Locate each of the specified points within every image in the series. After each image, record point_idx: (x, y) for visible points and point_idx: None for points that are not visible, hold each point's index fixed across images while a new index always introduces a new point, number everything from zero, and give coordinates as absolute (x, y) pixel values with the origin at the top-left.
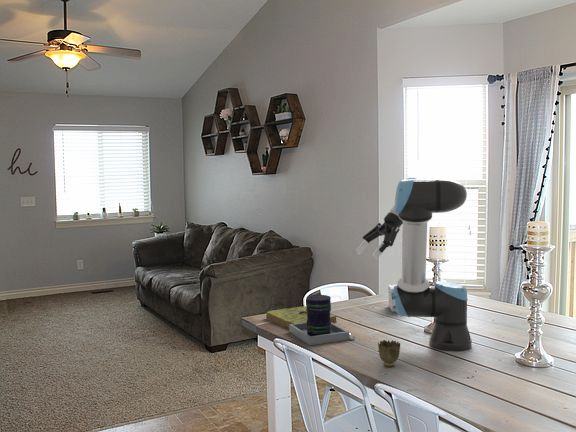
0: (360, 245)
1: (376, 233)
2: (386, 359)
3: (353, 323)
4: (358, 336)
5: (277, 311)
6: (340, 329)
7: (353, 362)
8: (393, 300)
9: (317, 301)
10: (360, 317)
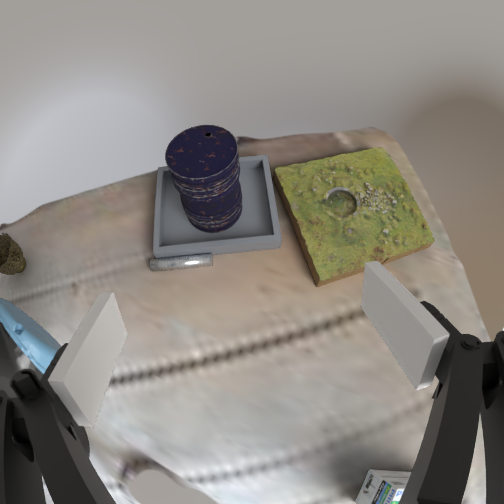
0: (394, 292)
1: (412, 493)
2: (8, 250)
3: (290, 326)
4: (172, 290)
5: (385, 165)
6: (187, 244)
7: (55, 220)
8: (379, 482)
9: (171, 143)
10: (345, 367)
